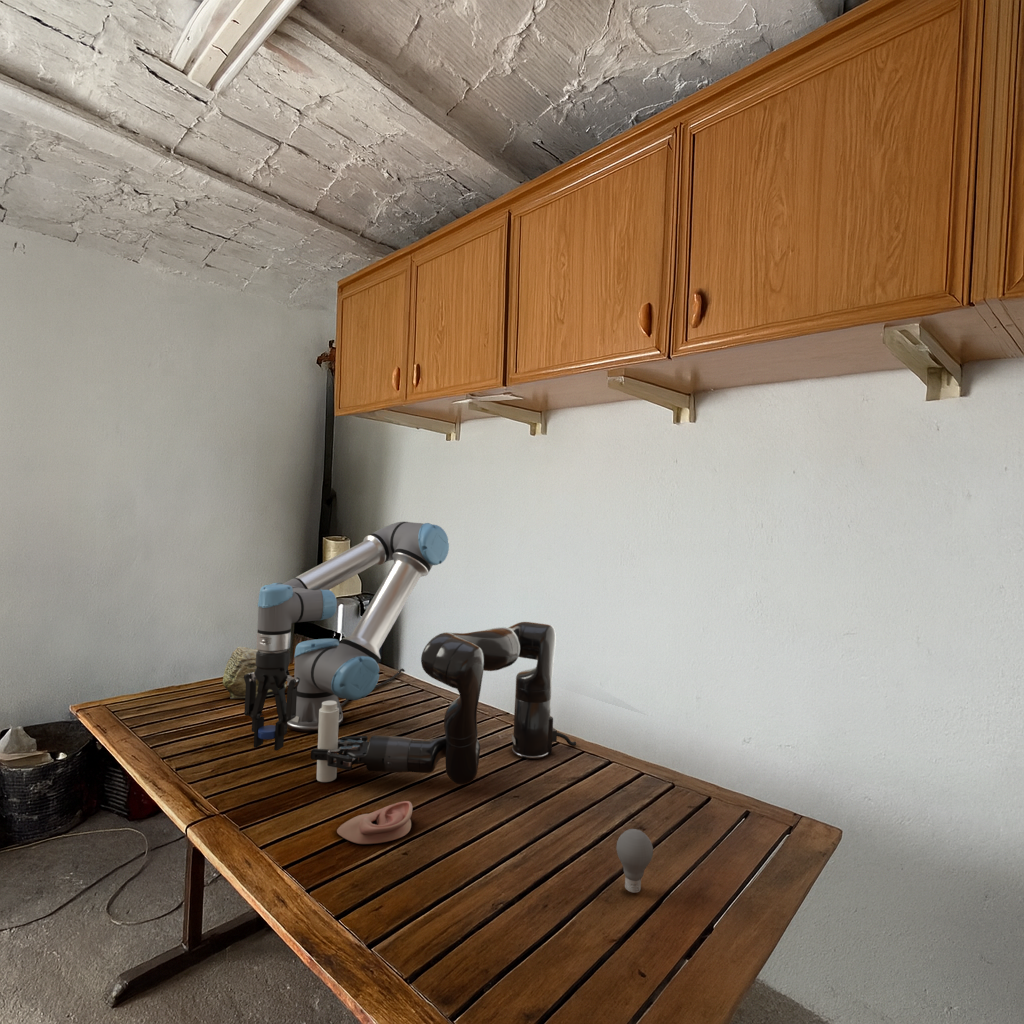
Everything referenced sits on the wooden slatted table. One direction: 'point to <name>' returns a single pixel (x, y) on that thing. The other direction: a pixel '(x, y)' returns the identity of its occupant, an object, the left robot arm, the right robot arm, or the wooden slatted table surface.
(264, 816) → the wooden slatted table surface
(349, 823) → the anatomical model
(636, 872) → the light bulb
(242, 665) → the fossil
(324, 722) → the white cylindrical bottle
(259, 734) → the lid
